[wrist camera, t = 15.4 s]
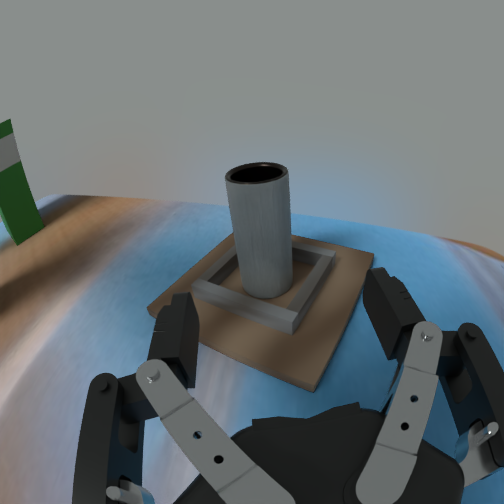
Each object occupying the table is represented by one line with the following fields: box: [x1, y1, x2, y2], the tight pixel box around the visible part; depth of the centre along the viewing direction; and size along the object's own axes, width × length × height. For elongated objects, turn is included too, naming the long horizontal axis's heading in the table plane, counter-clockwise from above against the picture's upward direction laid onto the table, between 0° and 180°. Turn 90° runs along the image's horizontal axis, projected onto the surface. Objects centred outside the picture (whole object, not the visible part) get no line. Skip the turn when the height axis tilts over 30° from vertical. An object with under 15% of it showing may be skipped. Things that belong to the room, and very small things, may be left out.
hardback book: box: [0, 119, 44, 246], centre depth 43 cm, size 18×7×24 cm, turn 56°
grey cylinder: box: [225, 162, 293, 299], centre depth 23 cm, size 4×4×10 cm
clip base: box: [147, 233, 374, 393], centre depth 26 cm, size 16×16×2 cm
